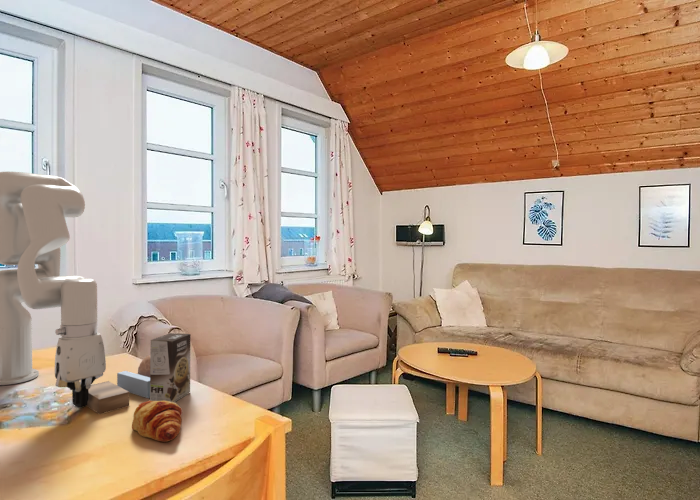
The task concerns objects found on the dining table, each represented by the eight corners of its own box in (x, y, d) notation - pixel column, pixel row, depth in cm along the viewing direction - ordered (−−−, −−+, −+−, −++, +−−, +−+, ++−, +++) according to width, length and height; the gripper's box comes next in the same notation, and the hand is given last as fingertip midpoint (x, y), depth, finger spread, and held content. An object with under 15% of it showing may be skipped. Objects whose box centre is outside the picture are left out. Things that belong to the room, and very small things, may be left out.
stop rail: (117, 388, 126) (117, 372, 126) (125, 386, 129) (125, 370, 128) (147, 398, 120) (147, 381, 120) (155, 395, 122) (155, 379, 122)
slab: (79, 403, 117) (79, 387, 117) (108, 395, 122) (108, 381, 122) (99, 416, 109) (99, 399, 109) (129, 407, 115) (129, 391, 114)
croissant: (131, 431, 108) (113, 405, 106) (169, 402, 114) (153, 377, 111) (160, 465, 92) (140, 435, 90) (203, 430, 98) (185, 401, 95)
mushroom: (164, 385, 130) (164, 357, 129) (140, 389, 126) (140, 360, 126) (159, 378, 136) (159, 351, 136) (136, 381, 133) (136, 354, 132)
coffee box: (171, 404, 116) (172, 341, 115) (149, 402, 117) (149, 339, 116) (191, 392, 125) (191, 333, 124) (170, 390, 126) (170, 332, 125)
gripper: (54, 338, 102) (55, 419, 103) (118, 326, 115) (119, 399, 116) (37, 334, 106) (38, 412, 107) (101, 323, 119) (101, 393, 119)
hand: (80, 405), depth 111 cm, fingers closed
